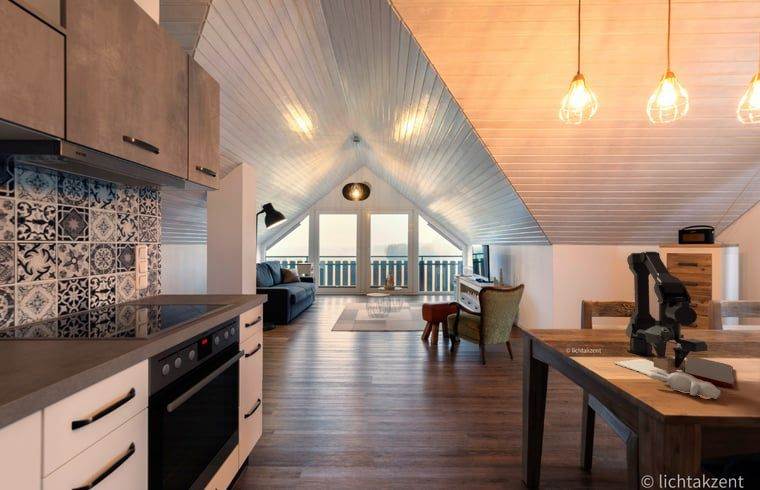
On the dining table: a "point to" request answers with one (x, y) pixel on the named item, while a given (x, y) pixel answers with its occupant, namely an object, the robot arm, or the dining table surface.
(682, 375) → the bunny figurine
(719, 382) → the grey and red slab
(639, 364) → the mat
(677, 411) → the dining table surface
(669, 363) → the slotted tan box
